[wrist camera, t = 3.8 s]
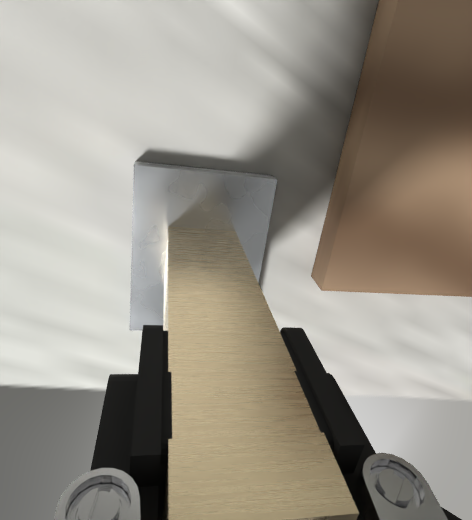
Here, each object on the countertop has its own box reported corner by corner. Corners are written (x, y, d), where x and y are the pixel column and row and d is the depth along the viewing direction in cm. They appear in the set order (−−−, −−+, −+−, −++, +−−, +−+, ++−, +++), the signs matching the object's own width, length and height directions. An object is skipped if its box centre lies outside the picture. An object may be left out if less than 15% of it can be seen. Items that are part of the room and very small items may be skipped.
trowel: (135, 161, 16) (42, 402, 4) (272, 175, 17) (505, 393, 5) (131, 320, 19) (72, 707, 7) (246, 323, 20) (353, 659, 9)
